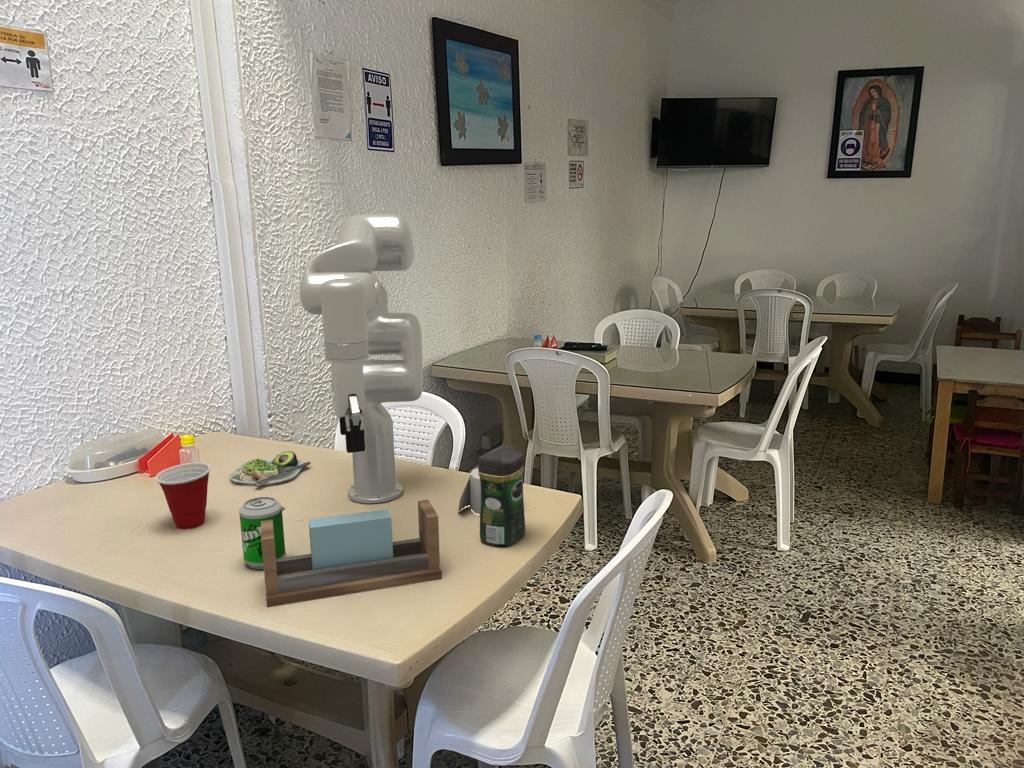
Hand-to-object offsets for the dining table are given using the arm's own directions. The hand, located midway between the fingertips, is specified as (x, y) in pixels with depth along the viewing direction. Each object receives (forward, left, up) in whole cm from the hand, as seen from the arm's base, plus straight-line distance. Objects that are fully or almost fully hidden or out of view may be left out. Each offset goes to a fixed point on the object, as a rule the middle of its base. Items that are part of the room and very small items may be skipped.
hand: (352, 442), depth 137 cm
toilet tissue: (-17, +30, -24) cm, 42 cm away
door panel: (+5, -2, -22) cm, 23 cm away
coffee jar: (-2, +29, -24) cm, 37 cm away
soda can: (-6, -17, -24) cm, 30 cm away
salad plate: (-57, -15, -24) cm, 64 cm away
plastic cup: (-30, -32, -24) cm, 50 cm away
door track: (+6, -2, -24) cm, 24 cm away
